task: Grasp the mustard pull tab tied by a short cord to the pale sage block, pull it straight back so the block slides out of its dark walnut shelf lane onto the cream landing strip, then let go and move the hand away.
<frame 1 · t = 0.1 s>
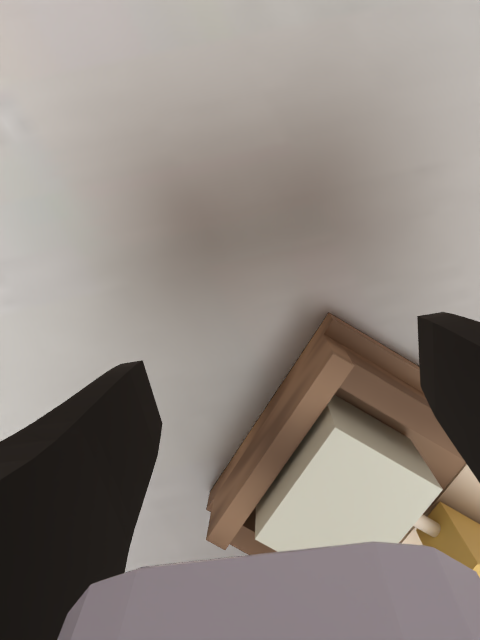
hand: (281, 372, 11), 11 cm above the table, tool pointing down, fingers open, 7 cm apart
shelf lane: (446, 511, 24), on the table
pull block: (396, 518, 20), point 4 cm above the table, slide at 0.0 cm
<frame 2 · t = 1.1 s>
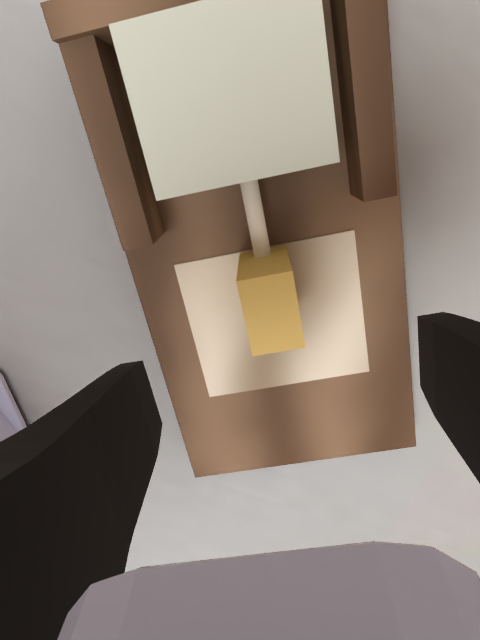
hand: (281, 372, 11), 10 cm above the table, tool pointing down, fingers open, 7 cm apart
shelf lane: (269, 280, 21), on the table
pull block: (250, 193, 16), point 4 cm above the table, slide at 0.0 cm
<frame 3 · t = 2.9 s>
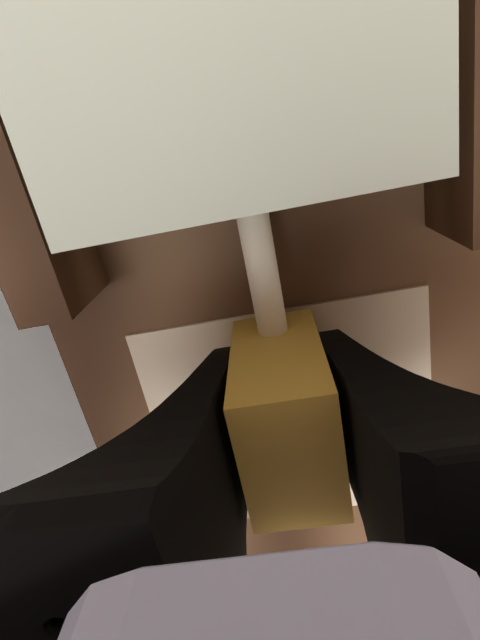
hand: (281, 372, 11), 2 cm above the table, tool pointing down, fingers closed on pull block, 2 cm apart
shelf lane: (280, 351, 14), on the table
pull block: (253, 230, 8), point 4 cm above the table, slide at 0.0 cm, touching gripper
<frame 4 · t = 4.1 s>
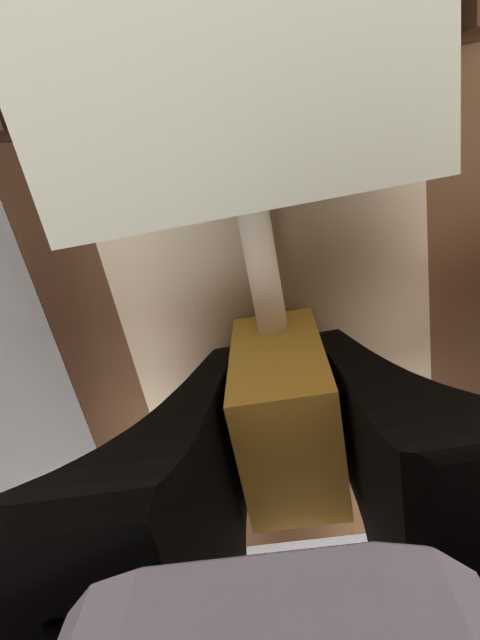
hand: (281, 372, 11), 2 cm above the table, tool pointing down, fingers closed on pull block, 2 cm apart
shelf lane: (260, 236, 12), on the table
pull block: (253, 228, 8), point 4 cm above the table, slide at 3.6 cm, touching gripper
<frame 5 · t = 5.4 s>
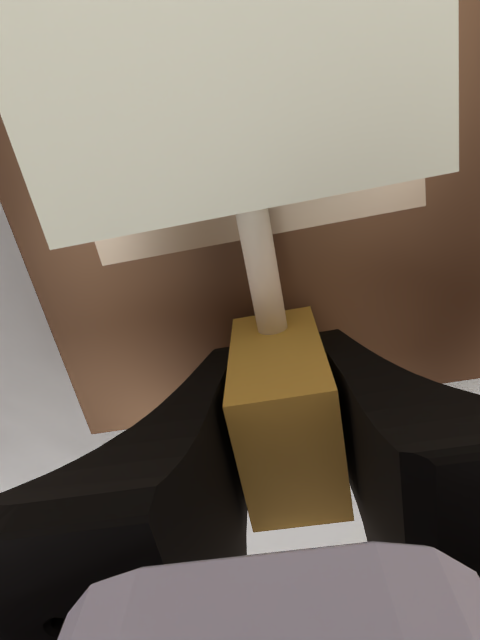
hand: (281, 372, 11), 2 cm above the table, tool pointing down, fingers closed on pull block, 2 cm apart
shelf lane: (220, 14, 10), on the table
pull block: (252, 227, 8), point 4 cm above the table, slide at 8.9 cm, touching gripper
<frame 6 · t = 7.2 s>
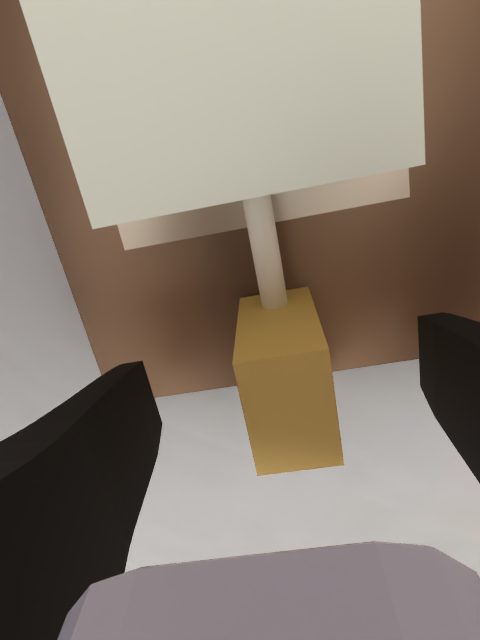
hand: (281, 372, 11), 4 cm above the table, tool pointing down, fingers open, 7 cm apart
shelf lane: (229, 29, 12), on the table
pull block: (257, 213, 10), point 4 cm above the table, slide at 8.9 cm
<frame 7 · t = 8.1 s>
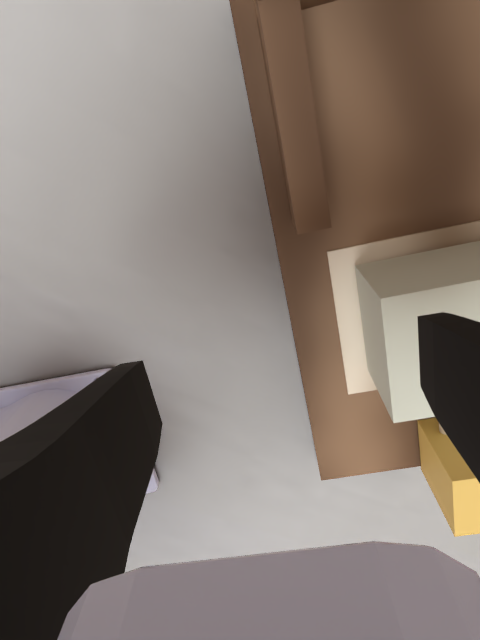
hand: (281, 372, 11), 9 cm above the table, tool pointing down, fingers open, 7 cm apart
shelf lane: (416, 267, 20), on the table
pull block: (454, 393, 18), point 4 cm above the table, slide at 8.9 cm
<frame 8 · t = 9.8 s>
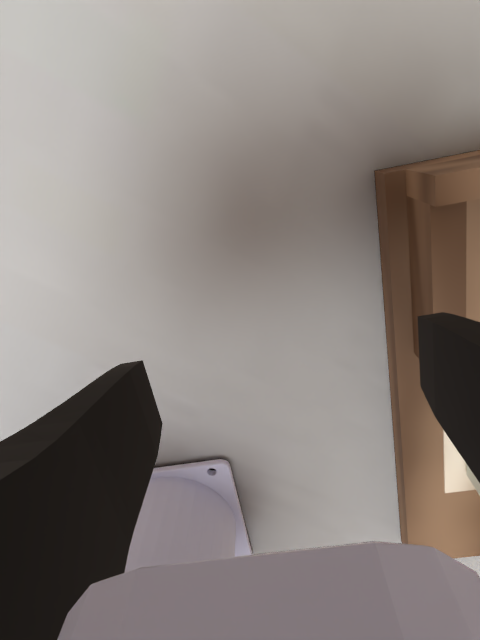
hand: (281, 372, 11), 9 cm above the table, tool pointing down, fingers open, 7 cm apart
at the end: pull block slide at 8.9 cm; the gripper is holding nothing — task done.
